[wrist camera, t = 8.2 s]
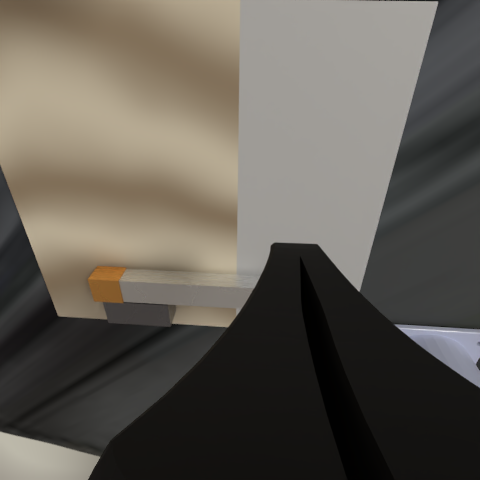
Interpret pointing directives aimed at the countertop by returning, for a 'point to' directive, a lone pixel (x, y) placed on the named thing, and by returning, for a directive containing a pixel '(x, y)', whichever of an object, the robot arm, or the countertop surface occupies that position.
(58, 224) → the door panel
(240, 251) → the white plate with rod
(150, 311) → the block
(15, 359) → the countertop surface
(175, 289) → the bar
